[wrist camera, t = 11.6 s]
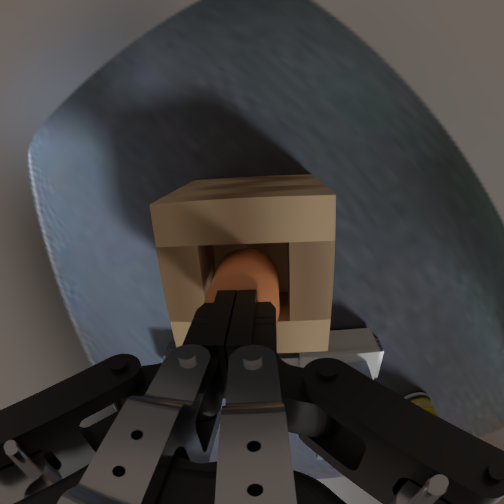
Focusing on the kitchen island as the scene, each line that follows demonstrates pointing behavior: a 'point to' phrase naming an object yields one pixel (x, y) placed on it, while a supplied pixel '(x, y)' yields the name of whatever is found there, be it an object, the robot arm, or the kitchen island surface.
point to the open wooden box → (254, 237)
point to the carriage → (349, 351)
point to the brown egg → (247, 276)
